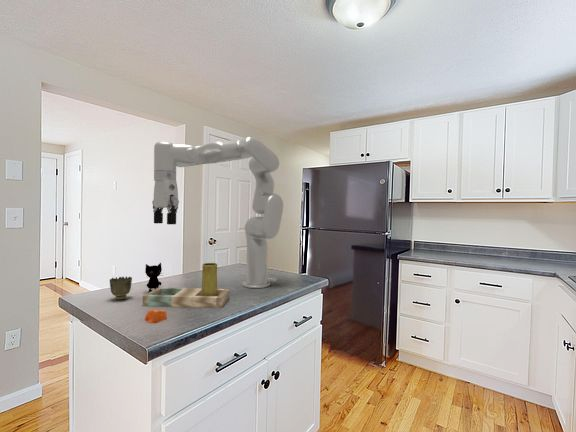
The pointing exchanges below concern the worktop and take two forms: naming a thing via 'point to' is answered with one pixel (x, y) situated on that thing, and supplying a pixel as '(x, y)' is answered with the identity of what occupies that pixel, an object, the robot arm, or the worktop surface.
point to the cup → (120, 287)
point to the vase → (209, 279)
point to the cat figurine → (153, 276)
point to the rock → (155, 316)
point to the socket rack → (185, 298)
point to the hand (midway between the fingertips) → (164, 223)
